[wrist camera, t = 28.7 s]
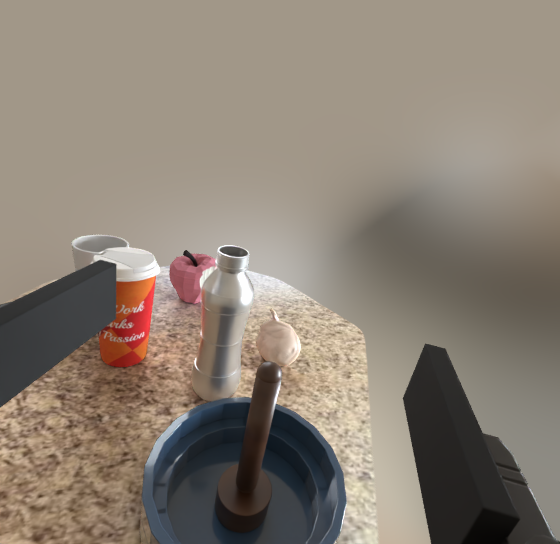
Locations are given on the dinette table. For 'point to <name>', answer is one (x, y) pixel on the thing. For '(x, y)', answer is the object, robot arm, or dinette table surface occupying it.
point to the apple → (191, 275)
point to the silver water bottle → (223, 325)
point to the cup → (93, 248)
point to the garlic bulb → (278, 341)
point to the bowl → (225, 453)
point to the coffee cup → (129, 306)
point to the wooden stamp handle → (251, 460)
